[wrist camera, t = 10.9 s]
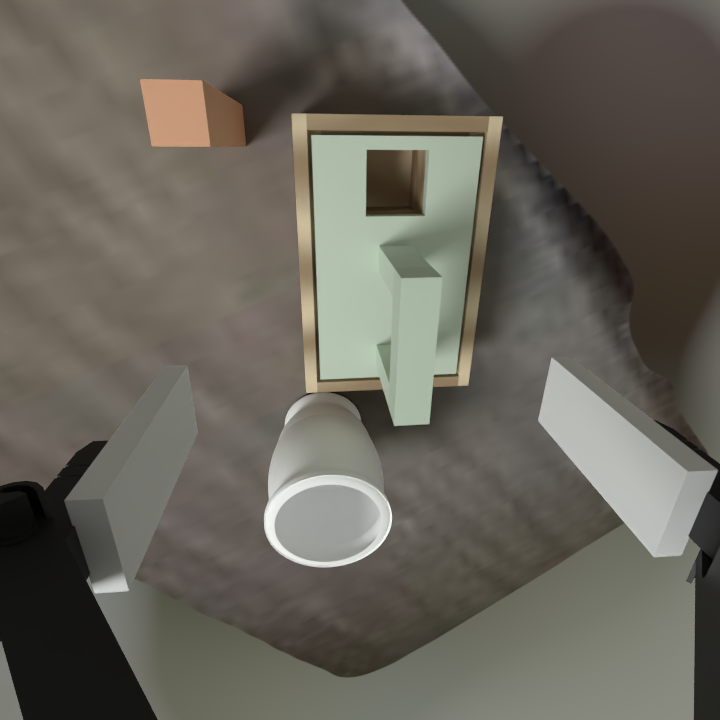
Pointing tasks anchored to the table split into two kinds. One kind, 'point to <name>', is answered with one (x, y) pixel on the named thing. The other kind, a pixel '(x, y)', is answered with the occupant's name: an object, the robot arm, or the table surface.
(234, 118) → the key peg
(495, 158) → the wooden box
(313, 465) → the jar
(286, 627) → the table surface
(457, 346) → the lid
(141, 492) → the robot arm
